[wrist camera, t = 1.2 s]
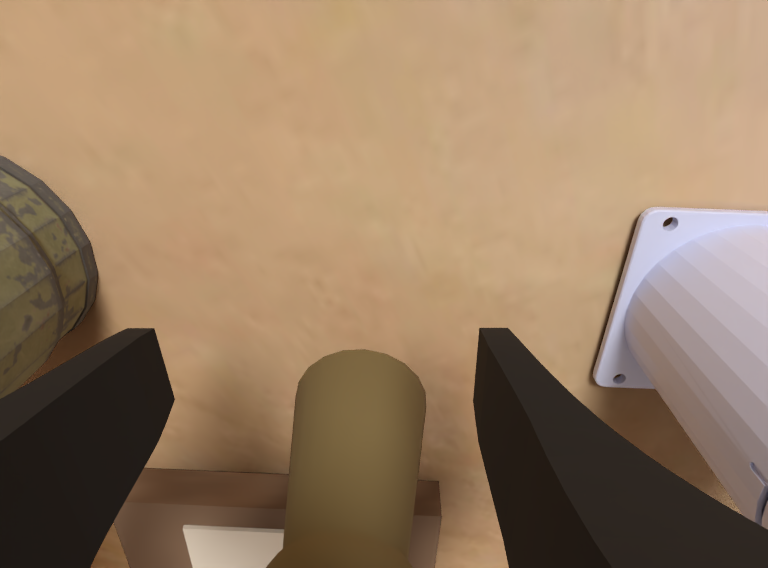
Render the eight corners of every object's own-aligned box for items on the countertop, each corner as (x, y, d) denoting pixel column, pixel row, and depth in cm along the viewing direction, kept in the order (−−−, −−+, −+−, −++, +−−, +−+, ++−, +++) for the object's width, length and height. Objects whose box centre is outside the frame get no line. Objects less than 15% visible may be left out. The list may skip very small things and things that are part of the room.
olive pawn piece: (437, 439, 24) (463, 732, 14) (317, 457, 24) (263, 745, 15) (411, 338, 21) (421, 615, 11) (277, 362, 22) (178, 639, 12)
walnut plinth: (438, 481, 25) (441, 520, 23) (422, 613, 31) (424, 653, 29) (126, 467, 25) (103, 504, 23) (168, 600, 31) (153, 639, 29)
